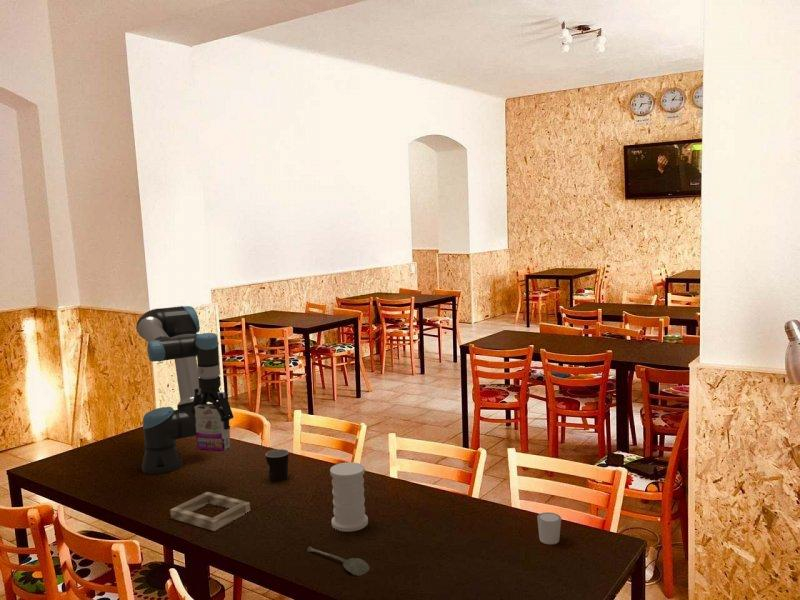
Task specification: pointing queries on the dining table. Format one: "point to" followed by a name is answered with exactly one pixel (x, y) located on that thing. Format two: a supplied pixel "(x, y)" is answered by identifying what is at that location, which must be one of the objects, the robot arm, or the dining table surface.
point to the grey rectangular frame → (188, 516)
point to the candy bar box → (209, 429)
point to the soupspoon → (348, 563)
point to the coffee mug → (277, 464)
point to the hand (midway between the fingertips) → (213, 435)
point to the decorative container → (348, 497)
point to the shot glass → (549, 527)
